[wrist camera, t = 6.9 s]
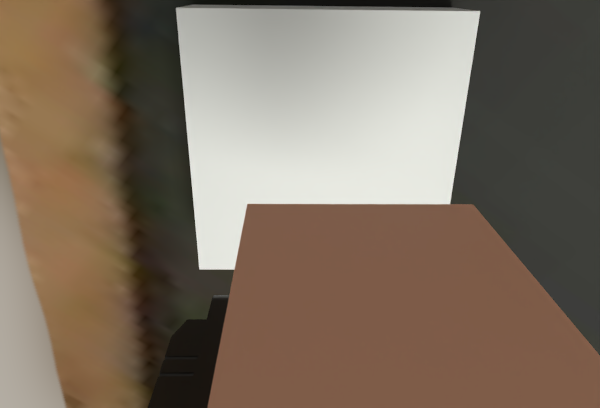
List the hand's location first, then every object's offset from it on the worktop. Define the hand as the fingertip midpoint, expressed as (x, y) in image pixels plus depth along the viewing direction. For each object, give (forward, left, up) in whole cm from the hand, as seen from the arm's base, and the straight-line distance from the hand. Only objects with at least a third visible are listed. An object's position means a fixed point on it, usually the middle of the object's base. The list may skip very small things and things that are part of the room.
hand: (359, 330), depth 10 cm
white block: (0, 0, -16) cm, 16 cm away
